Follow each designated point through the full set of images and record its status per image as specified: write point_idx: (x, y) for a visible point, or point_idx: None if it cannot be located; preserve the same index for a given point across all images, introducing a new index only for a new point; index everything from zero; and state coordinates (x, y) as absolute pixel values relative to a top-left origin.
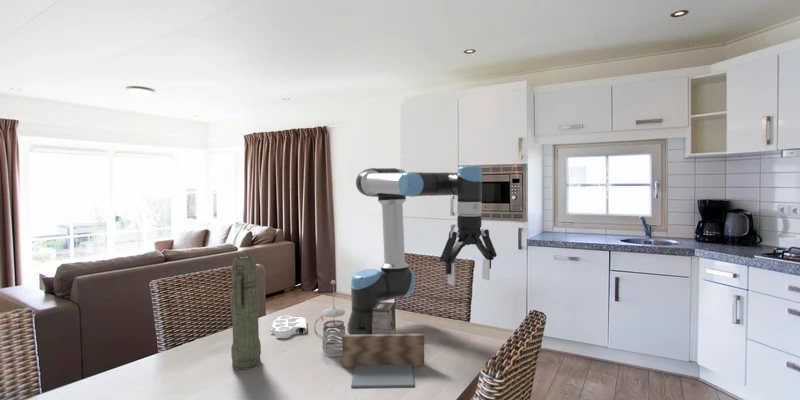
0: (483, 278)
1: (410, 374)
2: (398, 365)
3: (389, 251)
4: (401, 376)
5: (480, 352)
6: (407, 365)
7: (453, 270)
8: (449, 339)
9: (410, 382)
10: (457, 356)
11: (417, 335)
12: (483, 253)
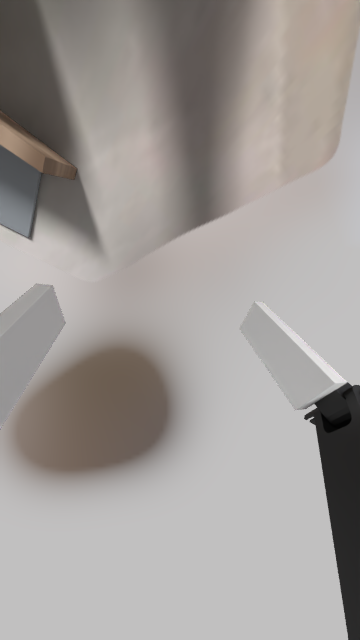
0: (251, 308)
1: (28, 199)
2: None
3: None
4: (5, 194)
5: (204, 208)
6: None
7: (12, 393)
8: (213, 73)
9: (22, 227)
10: (159, 190)
11: (17, 155)
12: (348, 453)
